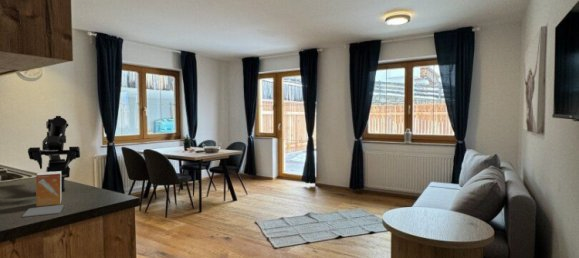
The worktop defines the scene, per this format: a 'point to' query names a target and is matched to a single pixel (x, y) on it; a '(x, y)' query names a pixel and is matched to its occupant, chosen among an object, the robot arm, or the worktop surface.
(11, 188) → the worktop surface
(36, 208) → the grey square plate
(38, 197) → the small box
